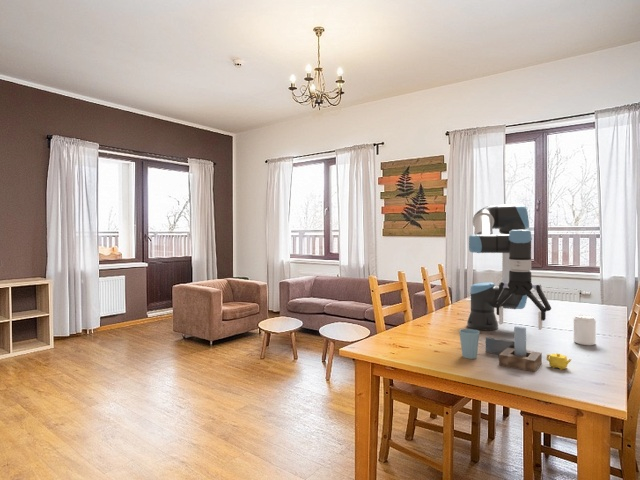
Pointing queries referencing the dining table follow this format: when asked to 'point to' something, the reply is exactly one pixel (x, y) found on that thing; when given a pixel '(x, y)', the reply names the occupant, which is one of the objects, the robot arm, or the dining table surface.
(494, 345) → the rail
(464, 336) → the cup
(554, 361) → the teapot
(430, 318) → the dining table surface
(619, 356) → the dining table surface
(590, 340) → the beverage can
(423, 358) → the dining table surface
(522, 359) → the socket block
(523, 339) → the peg
